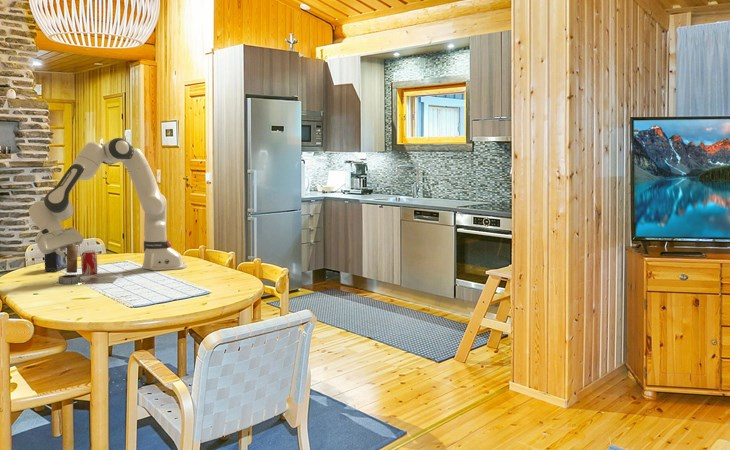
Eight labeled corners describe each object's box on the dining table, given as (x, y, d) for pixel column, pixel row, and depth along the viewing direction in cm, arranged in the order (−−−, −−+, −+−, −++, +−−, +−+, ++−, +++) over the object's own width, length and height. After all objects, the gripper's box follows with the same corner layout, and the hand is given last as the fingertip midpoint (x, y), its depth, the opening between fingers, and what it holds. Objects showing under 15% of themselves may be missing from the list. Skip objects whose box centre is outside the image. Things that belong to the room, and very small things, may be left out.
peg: (77, 271, 290) (78, 245, 290) (75, 272, 286) (76, 246, 285) (67, 271, 289) (68, 245, 289) (65, 272, 285) (65, 246, 284)
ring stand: (87, 281, 294) (86, 273, 293) (80, 287, 282) (80, 278, 282) (59, 282, 291) (58, 274, 291) (51, 288, 280) (51, 279, 279)
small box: (57, 271, 316) (56, 251, 315) (44, 271, 316) (43, 251, 315) (67, 268, 327) (66, 248, 326) (55, 267, 327) (54, 247, 326)
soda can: (91, 277, 304) (90, 252, 302) (78, 276, 305) (77, 252, 304) (100, 274, 311) (99, 250, 309) (87, 273, 312) (86, 249, 311)
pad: (117, 279, 299) (117, 277, 299) (112, 285, 288) (112, 282, 287) (90, 280, 297) (90, 277, 297) (84, 285, 285) (84, 283, 285)
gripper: (71, 230, 300) (87, 252, 298) (31, 241, 283) (48, 265, 281) (75, 222, 297) (92, 244, 295) (35, 233, 280) (53, 256, 278)
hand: (70, 254), depth 288 cm, fingers open, 4 cm apart
